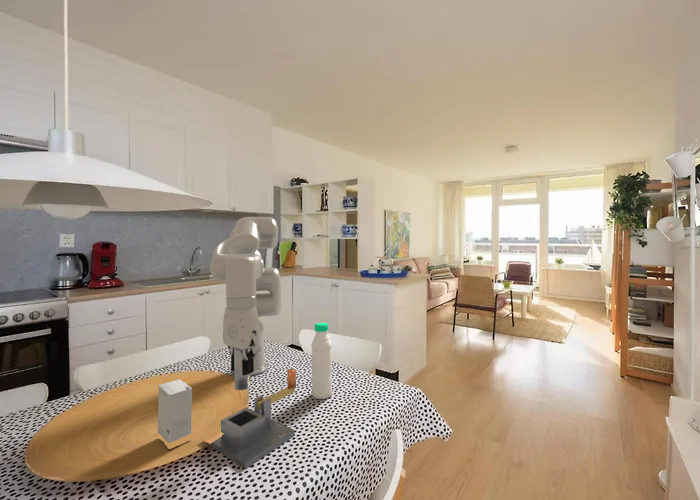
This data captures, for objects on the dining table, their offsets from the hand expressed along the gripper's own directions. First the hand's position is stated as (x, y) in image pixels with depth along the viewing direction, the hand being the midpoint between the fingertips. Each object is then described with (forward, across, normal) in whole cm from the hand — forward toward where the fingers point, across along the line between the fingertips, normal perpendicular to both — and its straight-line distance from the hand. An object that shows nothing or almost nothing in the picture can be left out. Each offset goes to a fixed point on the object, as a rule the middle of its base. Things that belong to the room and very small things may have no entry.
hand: (242, 370), depth 85 cm
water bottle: (+19, 0, +32) cm, 37 cm away
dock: (+19, 0, +1) cm, 19 cm away
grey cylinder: (+4, 0, 0) cm, 4 cm away
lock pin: (+12, 0, +12) cm, 17 cm away
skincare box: (+19, -16, -10) cm, 27 cm away
